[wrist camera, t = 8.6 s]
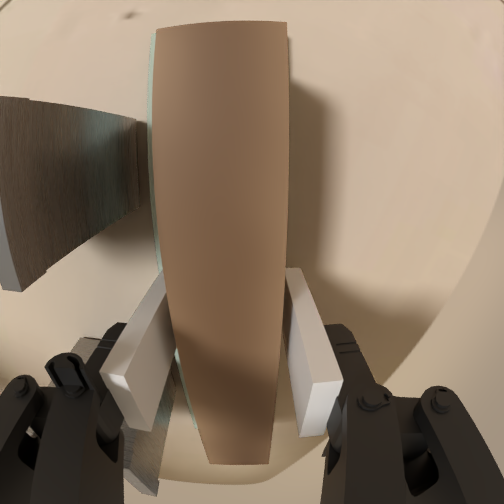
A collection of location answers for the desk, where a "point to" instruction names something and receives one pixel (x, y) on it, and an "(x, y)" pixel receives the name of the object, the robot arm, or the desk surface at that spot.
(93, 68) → the desk surface
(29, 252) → the cradle posts
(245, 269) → the rail
